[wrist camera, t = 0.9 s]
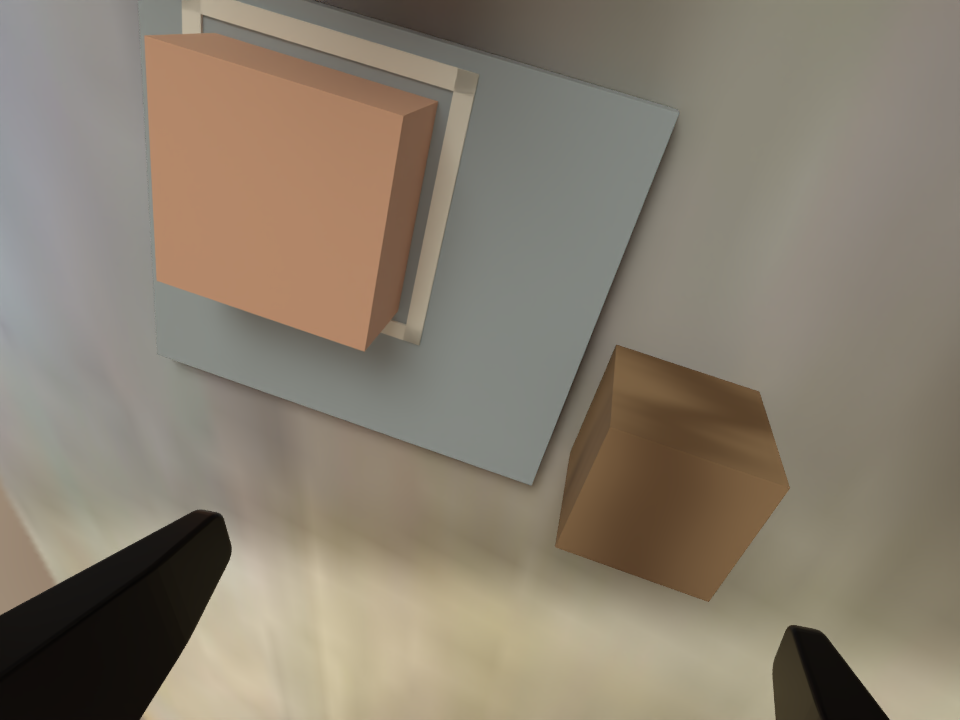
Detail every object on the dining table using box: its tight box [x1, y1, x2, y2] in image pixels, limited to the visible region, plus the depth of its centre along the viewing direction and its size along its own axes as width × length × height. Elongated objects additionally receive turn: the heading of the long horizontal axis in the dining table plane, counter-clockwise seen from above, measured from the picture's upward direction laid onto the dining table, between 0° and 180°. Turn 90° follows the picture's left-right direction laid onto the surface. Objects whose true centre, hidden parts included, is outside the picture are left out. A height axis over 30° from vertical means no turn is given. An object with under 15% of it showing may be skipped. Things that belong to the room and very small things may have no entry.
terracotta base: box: [144, 33, 438, 352], centre depth 18 cm, size 7×7×3 cm
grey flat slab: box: [138, 0, 679, 485], centre depth 21 cm, size 16×14×1 cm
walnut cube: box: [555, 345, 790, 602], centre depth 20 cm, size 5×5×5 cm
